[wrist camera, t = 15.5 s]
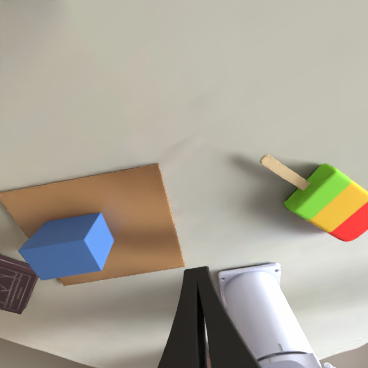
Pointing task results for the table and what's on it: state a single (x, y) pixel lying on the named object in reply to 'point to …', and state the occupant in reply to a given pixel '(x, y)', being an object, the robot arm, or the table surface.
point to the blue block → (68, 246)
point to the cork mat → (108, 218)
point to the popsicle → (326, 199)
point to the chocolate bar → (15, 284)
